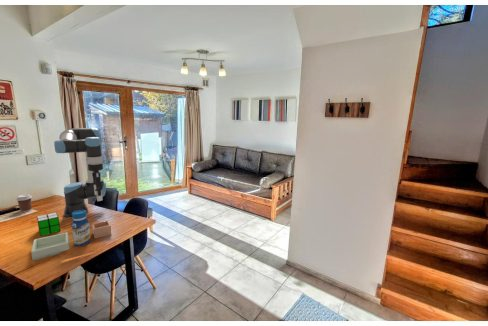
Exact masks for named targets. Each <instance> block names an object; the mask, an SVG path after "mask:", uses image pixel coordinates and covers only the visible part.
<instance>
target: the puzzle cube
mask: <svg viewBox="0 0 488 326" xmlns="http://www.w3.org/2000/svg"><path fill="white" fill-rule="evenodd" d="M36 221H37V227H38V233H39V236H40V237H44V236H47V235H51V234H54V233H55V234H56V233H59V232H61V225H60V218H59V215H58V213H57V212H52V213H48V214H42V215H37V216H36Z"/></svg>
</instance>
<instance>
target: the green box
mask: <svg viewBox="0 0 488 326" xmlns="http://www.w3.org/2000/svg"><path fill="white" fill-rule="evenodd" d="M68 233H69V232H62V233H59V234H58V233H57V234H53V235H49V236H45V237H44V236H43V237H40V238H35V239H34V240H33V242H32V247H31V258H32V261H37V260H41V259H45V258H49V257H52V256H57V255H59V254H63V252H65V251H69V250H70V246H69V245H70V239H69V234H68Z"/></svg>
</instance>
